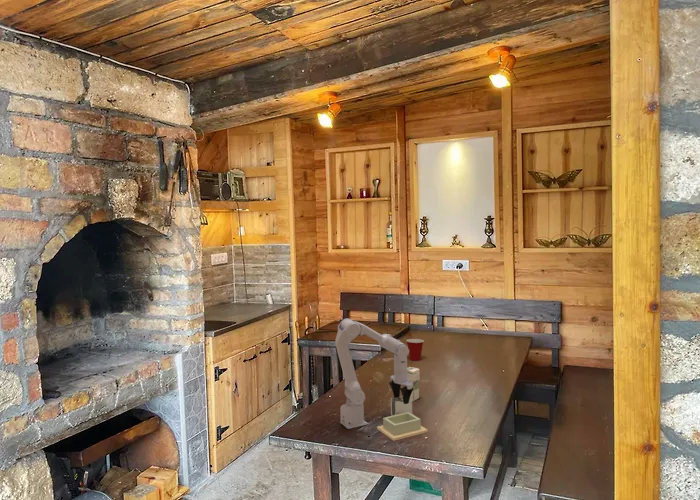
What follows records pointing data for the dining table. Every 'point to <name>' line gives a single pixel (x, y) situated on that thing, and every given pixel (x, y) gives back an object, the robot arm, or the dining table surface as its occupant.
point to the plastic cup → (415, 348)
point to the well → (401, 426)
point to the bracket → (400, 406)
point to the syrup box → (414, 382)
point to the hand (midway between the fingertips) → (401, 400)
